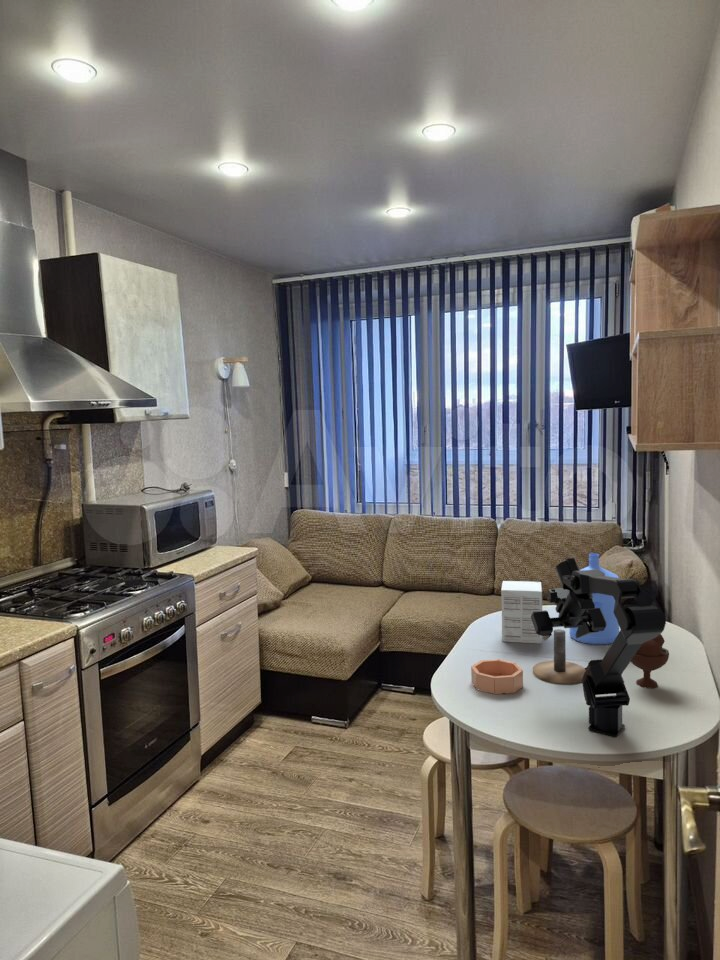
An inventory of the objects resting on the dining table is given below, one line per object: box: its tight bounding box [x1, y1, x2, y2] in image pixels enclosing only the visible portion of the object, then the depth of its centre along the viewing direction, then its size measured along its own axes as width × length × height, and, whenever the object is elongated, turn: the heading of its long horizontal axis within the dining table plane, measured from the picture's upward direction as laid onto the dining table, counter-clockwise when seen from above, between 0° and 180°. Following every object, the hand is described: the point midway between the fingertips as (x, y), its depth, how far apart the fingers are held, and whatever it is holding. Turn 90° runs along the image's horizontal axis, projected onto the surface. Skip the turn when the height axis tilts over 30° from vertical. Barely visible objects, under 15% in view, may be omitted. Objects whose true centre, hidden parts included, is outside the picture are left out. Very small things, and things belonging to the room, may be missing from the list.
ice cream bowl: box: [630, 633, 670, 689], centre depth 175 cm, size 11×11×15 cm
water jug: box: [569, 553, 620, 646], centre depth 214 cm, size 16×16×28 cm
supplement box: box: [500, 580, 543, 645], centre depth 218 cm, size 13×13×18 cm
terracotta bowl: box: [470, 658, 524, 695], centre depth 179 cm, size 13×13×4 cm
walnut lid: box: [532, 629, 586, 685], centre depth 185 cm, size 15×15×13 cm
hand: (560, 637), depth 176 cm, fingers open, 9 cm apart
